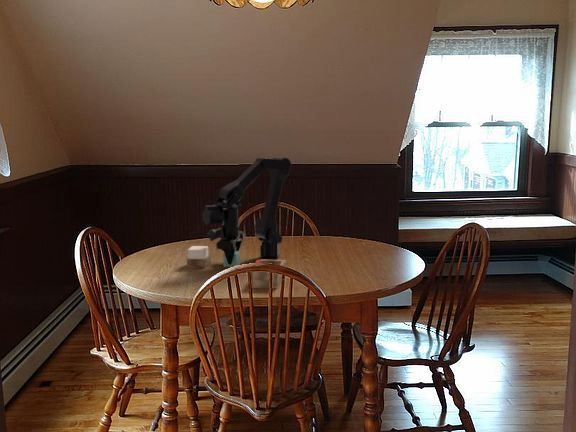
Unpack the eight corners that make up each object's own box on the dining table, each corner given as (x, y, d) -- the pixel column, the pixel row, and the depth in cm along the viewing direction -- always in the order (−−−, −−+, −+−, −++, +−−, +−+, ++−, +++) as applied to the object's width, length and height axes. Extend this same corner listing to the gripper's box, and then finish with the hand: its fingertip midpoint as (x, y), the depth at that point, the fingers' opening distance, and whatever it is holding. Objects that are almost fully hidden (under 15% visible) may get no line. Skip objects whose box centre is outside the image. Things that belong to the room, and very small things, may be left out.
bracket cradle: (285, 275, 209) (285, 260, 208) (277, 288, 194) (277, 272, 193) (260, 274, 211) (260, 259, 210) (250, 287, 196) (249, 271, 195)
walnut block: (211, 264, 227) (210, 255, 226) (205, 269, 220) (205, 259, 220) (193, 263, 228) (192, 254, 227) (187, 268, 221) (186, 259, 221)
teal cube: (240, 263, 226) (239, 250, 225) (236, 267, 221) (236, 254, 220) (227, 263, 227) (226, 250, 226) (223, 266, 222) (223, 253, 221)
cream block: (208, 255, 226) (208, 246, 226) (204, 259, 220) (203, 250, 220) (193, 254, 227) (192, 245, 226) (188, 258, 221) (187, 249, 221)
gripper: (216, 216, 231) (218, 255, 234) (201, 225, 213) (203, 268, 216) (244, 216, 230) (246, 256, 232) (231, 226, 211) (233, 269, 214)
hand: (231, 262), depth 224 cm, fingers open, 6 cm apart
